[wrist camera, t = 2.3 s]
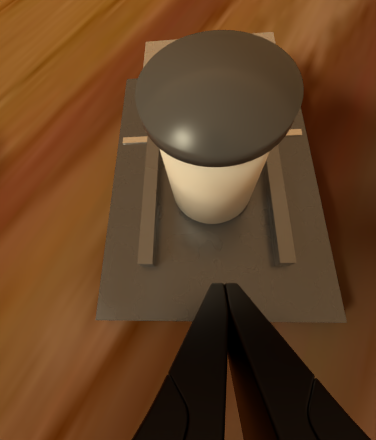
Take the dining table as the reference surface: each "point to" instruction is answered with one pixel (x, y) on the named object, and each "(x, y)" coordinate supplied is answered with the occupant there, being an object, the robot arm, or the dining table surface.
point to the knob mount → (215, 236)
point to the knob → (217, 116)
